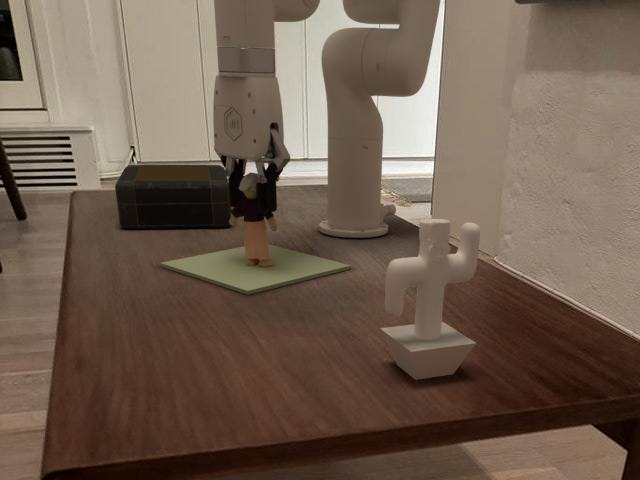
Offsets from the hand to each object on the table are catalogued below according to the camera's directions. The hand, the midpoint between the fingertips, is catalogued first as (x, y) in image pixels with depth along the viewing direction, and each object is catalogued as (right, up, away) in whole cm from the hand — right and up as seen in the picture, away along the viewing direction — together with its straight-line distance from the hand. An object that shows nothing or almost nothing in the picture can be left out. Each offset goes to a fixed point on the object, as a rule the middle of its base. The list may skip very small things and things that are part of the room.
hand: (253, 207), depth 106 cm
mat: (0, -7, +4) cm, 9 cm away
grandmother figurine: (0, -7, +4) cm, 8 cm away
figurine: (+22, -28, -29) cm, 46 cm away
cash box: (-20, +12, +37) cm, 44 cm away
